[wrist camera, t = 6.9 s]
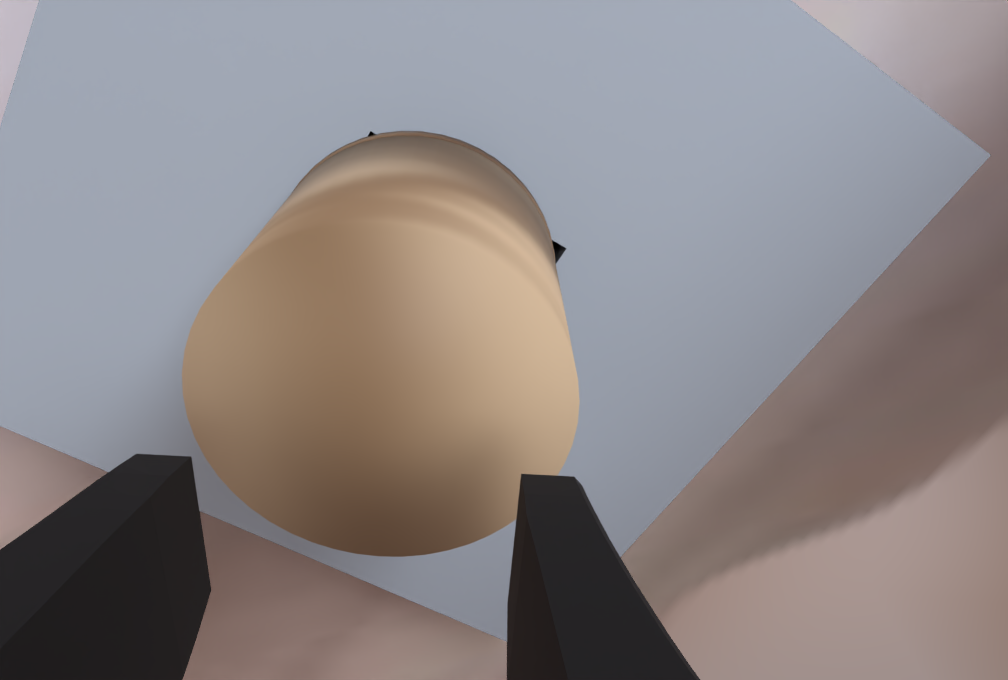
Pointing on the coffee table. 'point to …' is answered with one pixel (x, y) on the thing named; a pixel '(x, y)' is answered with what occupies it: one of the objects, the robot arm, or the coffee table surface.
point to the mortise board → (510, 139)
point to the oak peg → (388, 352)
